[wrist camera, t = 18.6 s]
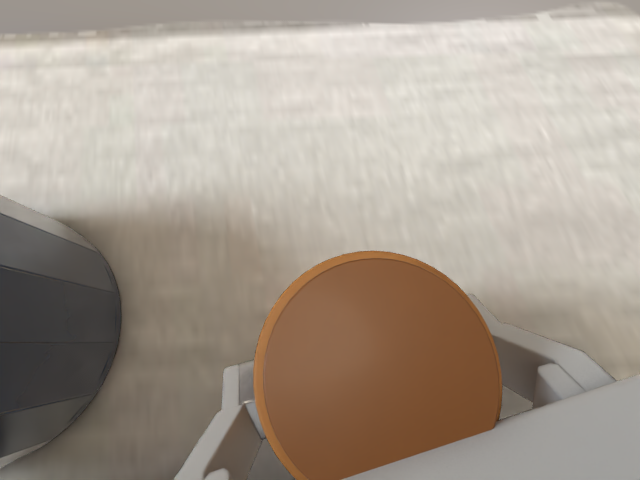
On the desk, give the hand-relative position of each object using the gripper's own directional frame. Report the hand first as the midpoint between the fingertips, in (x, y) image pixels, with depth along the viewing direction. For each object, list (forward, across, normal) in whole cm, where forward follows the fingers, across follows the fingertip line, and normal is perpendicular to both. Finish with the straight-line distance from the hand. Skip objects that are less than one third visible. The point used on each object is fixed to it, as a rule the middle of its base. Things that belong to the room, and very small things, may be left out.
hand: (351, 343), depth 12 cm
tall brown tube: (+3, 0, +4) cm, 5 cm away
